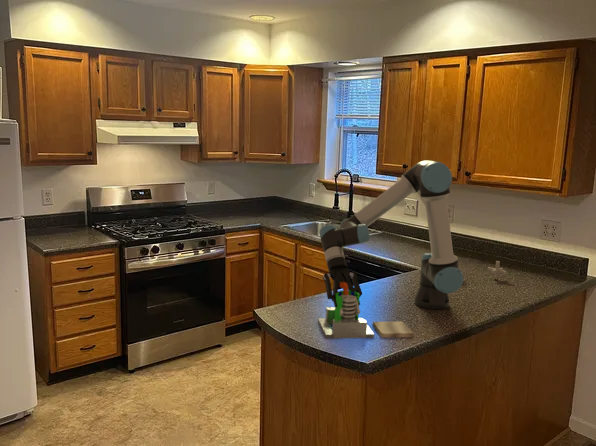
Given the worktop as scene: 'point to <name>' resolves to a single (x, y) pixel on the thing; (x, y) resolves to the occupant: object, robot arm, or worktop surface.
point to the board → (392, 329)
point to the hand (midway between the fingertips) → (349, 314)
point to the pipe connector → (497, 270)
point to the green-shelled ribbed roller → (346, 303)
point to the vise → (344, 327)
